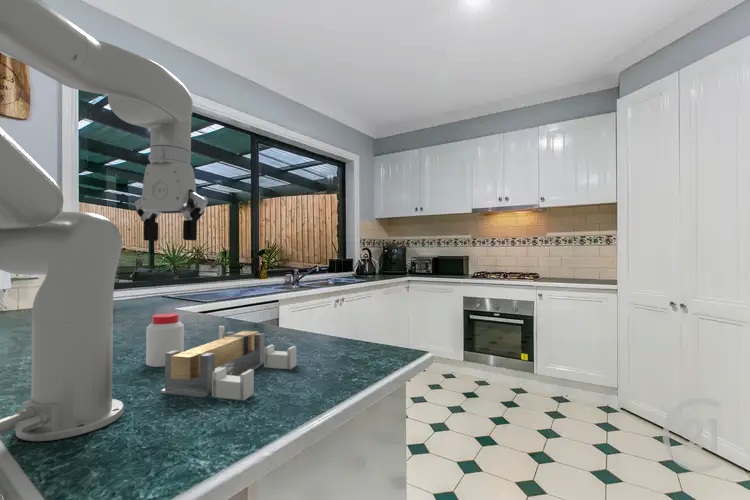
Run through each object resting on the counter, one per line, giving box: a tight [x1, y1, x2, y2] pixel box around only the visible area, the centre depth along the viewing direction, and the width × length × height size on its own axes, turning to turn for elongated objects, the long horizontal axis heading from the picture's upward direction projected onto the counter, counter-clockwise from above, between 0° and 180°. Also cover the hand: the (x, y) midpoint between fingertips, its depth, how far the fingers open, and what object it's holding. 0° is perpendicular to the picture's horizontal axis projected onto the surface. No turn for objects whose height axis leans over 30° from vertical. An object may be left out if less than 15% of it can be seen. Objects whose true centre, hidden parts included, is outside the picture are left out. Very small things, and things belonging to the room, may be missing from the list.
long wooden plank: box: [171, 330, 260, 380], centre depth 78 cm, size 23×4×4 cm, turn 167°
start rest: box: [211, 344, 297, 401], centre depth 76 cm, size 21×6×4 cm, turn 167°
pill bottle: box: [145, 312, 185, 368], centre depth 88 cm, size 8×8×11 cm
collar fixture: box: [160, 325, 266, 398], centre depth 78 cm, size 22×9×9 cm, turn 167°
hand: (170, 240), depth 79 cm, fingers open, 9 cm apart
